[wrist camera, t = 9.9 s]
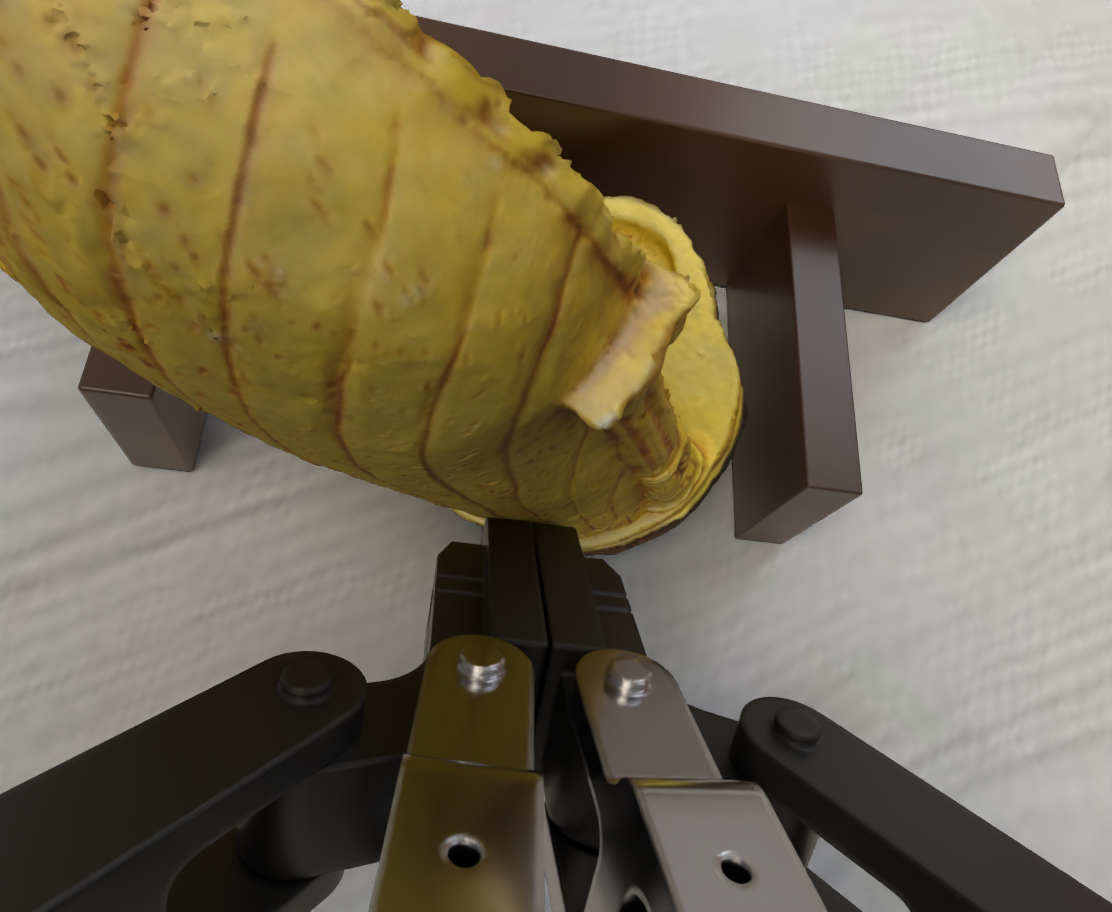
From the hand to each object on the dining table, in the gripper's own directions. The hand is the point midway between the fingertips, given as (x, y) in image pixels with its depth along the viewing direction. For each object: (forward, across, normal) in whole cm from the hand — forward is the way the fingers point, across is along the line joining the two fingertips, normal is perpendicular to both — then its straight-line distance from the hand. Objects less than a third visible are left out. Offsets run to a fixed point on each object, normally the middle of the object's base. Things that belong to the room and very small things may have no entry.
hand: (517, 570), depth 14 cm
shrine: (+5, +1, 0) cm, 5 cm away
